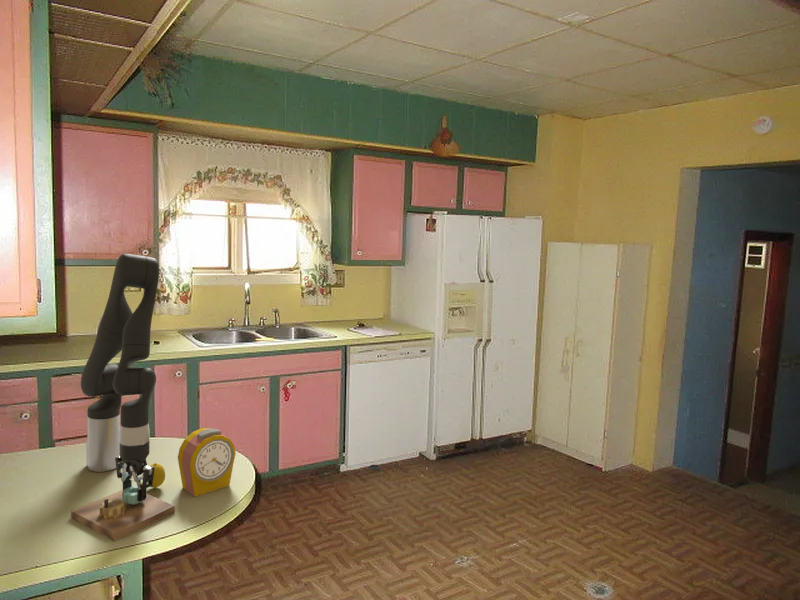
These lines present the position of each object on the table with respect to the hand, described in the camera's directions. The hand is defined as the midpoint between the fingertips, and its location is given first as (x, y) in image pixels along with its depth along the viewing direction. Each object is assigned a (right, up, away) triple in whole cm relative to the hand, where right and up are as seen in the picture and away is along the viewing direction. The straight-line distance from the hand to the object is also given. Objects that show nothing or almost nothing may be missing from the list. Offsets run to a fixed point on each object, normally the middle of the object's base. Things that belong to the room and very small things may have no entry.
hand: (134, 496), depth 164 cm
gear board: (-2, -4, -2) cm, 5 cm away
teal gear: (0, -1, 0) cm, 1 cm away
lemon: (0, -2, +14) cm, 14 cm away
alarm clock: (+15, -3, +17) cm, 23 cm away
